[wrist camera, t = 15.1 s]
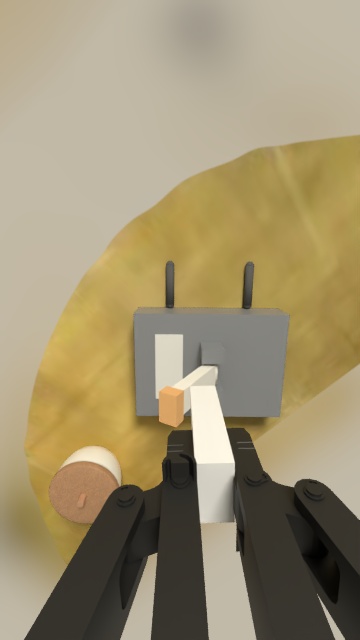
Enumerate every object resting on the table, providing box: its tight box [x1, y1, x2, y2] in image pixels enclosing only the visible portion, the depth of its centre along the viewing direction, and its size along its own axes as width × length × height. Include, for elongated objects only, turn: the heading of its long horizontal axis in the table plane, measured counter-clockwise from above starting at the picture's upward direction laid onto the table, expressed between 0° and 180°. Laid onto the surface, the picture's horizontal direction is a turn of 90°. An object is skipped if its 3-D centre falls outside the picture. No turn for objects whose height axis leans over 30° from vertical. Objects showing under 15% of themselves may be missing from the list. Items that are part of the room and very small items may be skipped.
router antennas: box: [166, 261, 254, 309], centre depth 44 cm, size 13×7×1 cm, turn 89°
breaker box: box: [134, 307, 290, 417], centre depth 43 cm, size 22×16×8 cm
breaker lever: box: [159, 364, 218, 427], centre depth 36 cm, size 2×4×12 cm, turn 179°
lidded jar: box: [49, 446, 122, 524], centre depth 47 cm, size 11×11×9 cm
